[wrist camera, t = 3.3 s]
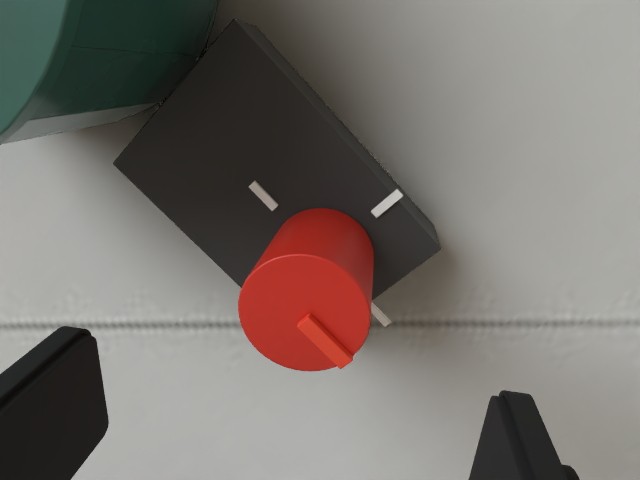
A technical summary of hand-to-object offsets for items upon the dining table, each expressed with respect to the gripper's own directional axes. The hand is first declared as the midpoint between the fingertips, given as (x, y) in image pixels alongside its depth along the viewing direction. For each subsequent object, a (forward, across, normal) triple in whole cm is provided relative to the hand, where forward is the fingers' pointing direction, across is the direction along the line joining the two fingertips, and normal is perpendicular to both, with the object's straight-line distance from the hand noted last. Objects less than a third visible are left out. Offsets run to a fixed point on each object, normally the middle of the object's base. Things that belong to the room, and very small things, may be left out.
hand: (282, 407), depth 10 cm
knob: (+9, 0, 0) cm, 9 cm away
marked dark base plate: (+12, +3, -2) cm, 13 cm away
